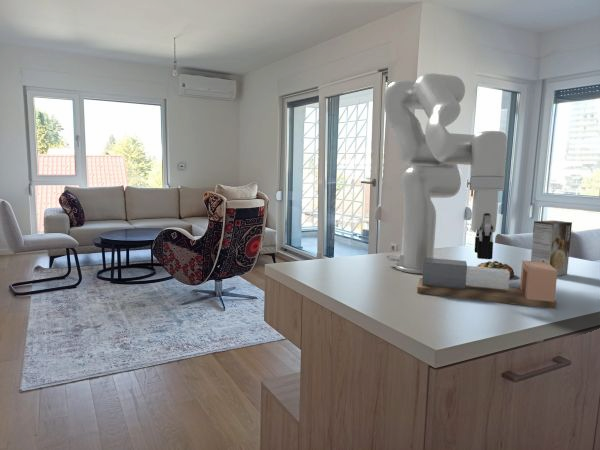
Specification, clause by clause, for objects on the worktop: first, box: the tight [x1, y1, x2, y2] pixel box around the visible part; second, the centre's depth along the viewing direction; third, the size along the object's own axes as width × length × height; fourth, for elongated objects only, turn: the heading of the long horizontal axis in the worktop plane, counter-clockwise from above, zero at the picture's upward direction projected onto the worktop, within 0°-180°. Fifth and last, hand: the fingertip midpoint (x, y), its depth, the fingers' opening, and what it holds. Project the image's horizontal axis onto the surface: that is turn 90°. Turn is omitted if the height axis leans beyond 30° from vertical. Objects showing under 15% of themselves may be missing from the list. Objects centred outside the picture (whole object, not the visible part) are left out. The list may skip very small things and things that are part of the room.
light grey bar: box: [466, 265, 511, 289], centre depth 104 cm, size 18×4×4 cm, turn 71°
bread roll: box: [475, 260, 515, 279], centre depth 126 cm, size 11×11×5 cm
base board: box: [416, 277, 558, 310], centre depth 104 cm, size 30×10×2 cm, turn 71°
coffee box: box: [530, 220, 573, 277], centre depth 128 cm, size 9×6×16 cm
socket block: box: [519, 259, 558, 302], centre depth 99 cm, size 6×10×7 cm, turn 161°
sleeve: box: [422, 257, 468, 290], centre depth 106 cm, size 10×6×6 cm, turn 71°
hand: (482, 255), depth 102 cm, fingers open, 9 cm apart
